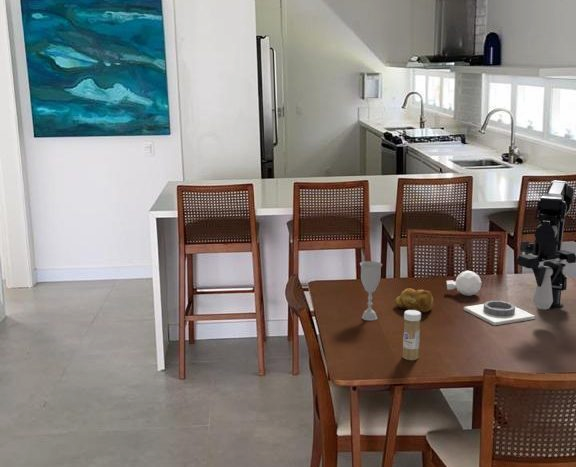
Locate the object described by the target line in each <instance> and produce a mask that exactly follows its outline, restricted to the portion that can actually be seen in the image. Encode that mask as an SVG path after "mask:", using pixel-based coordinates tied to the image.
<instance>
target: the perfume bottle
mask: <svg viewBox="0 0 576 467" xmlns="http://www.w3.org/2000/svg"><path fill="white" fill-rule="evenodd" d="M446 287H447V288H446V289H447V290H454V289H456V290H457V292H459V293H460V294H461V295H464V296H467V297H471V296H473V295H476V294H477V293H478V292H479V291H480V290H481V287H482V280H481V277H480V275H479V274H477V273H476V272H474V271H471V270H464V271H462V272H460V273H459V274H458V276H456V279H455V281H454V280H452V279H451V280H446Z"/></svg>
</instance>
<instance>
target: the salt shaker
mask: <svg viewBox="0 0 576 467" xmlns="http://www.w3.org/2000/svg"><path fill="white" fill-rule="evenodd" d="M544 267H546V271H545V275H544V279H543V282H542V285H541V287H539V286H538V285H537V284H536V288H535V292H534V295H533V303H534V306H535V308H537V309H540V310H548V309H551V308H550V306H551V304H552V303H553V296H552V286H551V277H550V276H551V275H552V274H553V269H552V268H551V267H547V266H544Z"/></svg>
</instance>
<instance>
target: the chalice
mask: <svg viewBox="0 0 576 467" xmlns="http://www.w3.org/2000/svg"><path fill="white" fill-rule="evenodd" d="M359 265H360V281H361V283H362V285H363V288H364V290H365V291H366V293H367V294H368V296H367V300H368V302H366V304H367V309H366V310H364V312H363V314H362V315H361V319H363V320H364V321H376V320H378V316H377V314H376V312H375V310H373V308H372V305H373V302H372V300H373V296H372V295H373V293H374V292H375V291H376V289H377V288H378V286H379V284H380V281H381V276H382V275H381V274H382V273H381V271H382V270H381V268H382V266H383V263H381V262H379V261H369V260H368V261H366V260H365V261H361V262H360V263H359Z"/></svg>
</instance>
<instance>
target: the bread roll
mask: <svg viewBox="0 0 576 467" xmlns="http://www.w3.org/2000/svg"><path fill="white" fill-rule="evenodd" d="M394 304H395V305H396V307H397V308H400V309H401V310H416V311H419V312H420V313H421V314H423V313H428V312H429V311H431V310H432V308H433V307H434V297H433V295H432V293H431V291H429V290H424V289H417V290H415V289H413V288H410V287H409V288H405V289H404V290H402V291H401V294H400V295H399V296H397V297H396V298H395V300H394Z"/></svg>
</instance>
